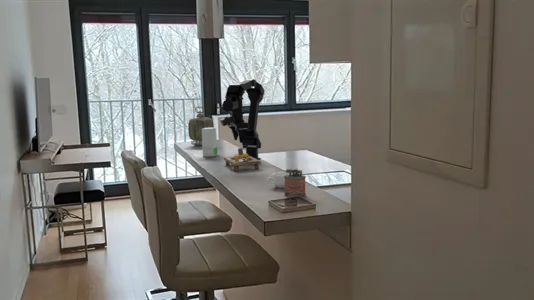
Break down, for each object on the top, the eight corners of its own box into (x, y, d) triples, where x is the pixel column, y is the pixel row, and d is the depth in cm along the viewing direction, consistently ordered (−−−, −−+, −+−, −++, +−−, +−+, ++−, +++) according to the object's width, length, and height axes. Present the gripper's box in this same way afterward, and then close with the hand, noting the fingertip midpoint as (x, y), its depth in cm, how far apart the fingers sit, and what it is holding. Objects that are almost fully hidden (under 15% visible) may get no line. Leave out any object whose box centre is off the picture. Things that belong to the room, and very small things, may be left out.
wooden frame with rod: (224, 164, 254) (223, 157, 254) (248, 162, 258) (248, 155, 258) (234, 171, 236) (233, 163, 235) (260, 169, 240) (260, 161, 239)
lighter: (306, 195, 187) (306, 168, 186) (304, 197, 184) (304, 170, 182) (286, 194, 190) (285, 167, 188) (283, 196, 187) (282, 169, 185)
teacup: (288, 184, 207) (288, 171, 206) (294, 188, 199) (294, 174, 198) (265, 186, 204) (264, 173, 203) (270, 190, 197) (270, 176, 196)
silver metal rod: (235, 156, 254) (235, 154, 253) (239, 156, 254) (239, 153, 254) (243, 162, 239) (243, 159, 238) (248, 161, 239) (247, 158, 239)
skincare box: (213, 156, 280) (212, 128, 277) (202, 156, 281) (200, 128, 279) (217, 154, 288) (216, 127, 285) (206, 154, 289) (205, 127, 287)
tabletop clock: (214, 145, 326) (212, 106, 322) (207, 147, 318) (205, 107, 314) (195, 144, 332) (193, 106, 328) (187, 146, 323) (185, 107, 320)
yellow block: (235, 164, 248) (233, 149, 246) (246, 162, 249) (245, 147, 248) (237, 165, 244) (235, 150, 243) (248, 163, 246) (247, 148, 245)
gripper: (216, 109, 253) (217, 140, 256) (225, 112, 236) (227, 145, 238) (237, 108, 257) (239, 138, 259) (248, 110, 239) (250, 143, 242)
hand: (238, 141), depth 250 cm, fingers open, 9 cm apart
